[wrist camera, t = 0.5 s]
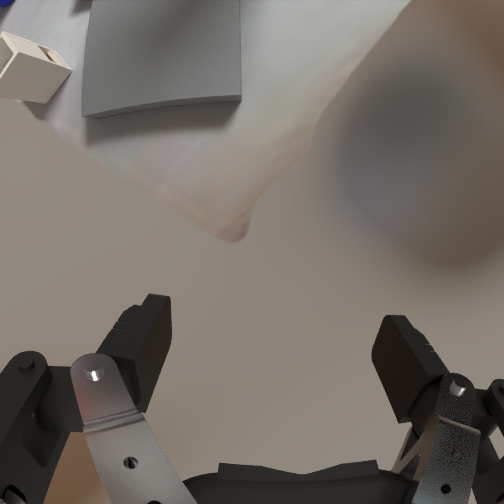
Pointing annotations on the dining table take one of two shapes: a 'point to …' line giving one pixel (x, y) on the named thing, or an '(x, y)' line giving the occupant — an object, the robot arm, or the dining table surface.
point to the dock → (160, 55)
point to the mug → (5, 2)
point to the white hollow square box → (29, 70)
